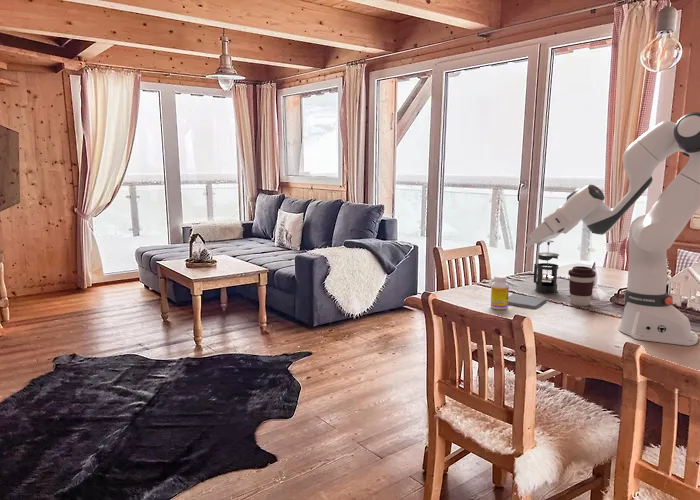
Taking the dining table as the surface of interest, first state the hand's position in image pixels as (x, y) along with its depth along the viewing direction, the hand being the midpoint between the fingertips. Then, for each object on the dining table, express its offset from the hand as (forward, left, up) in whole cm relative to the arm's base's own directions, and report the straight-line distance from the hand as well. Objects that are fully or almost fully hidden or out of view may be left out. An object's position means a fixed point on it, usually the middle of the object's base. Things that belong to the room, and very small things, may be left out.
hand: (532, 245), depth 187 cm
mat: (+7, -13, -26) cm, 30 cm away
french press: (+6, -37, -26) cm, 46 cm away
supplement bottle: (+12, 0, -26) cm, 29 cm away
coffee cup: (-12, -24, -26) cm, 37 cm away
